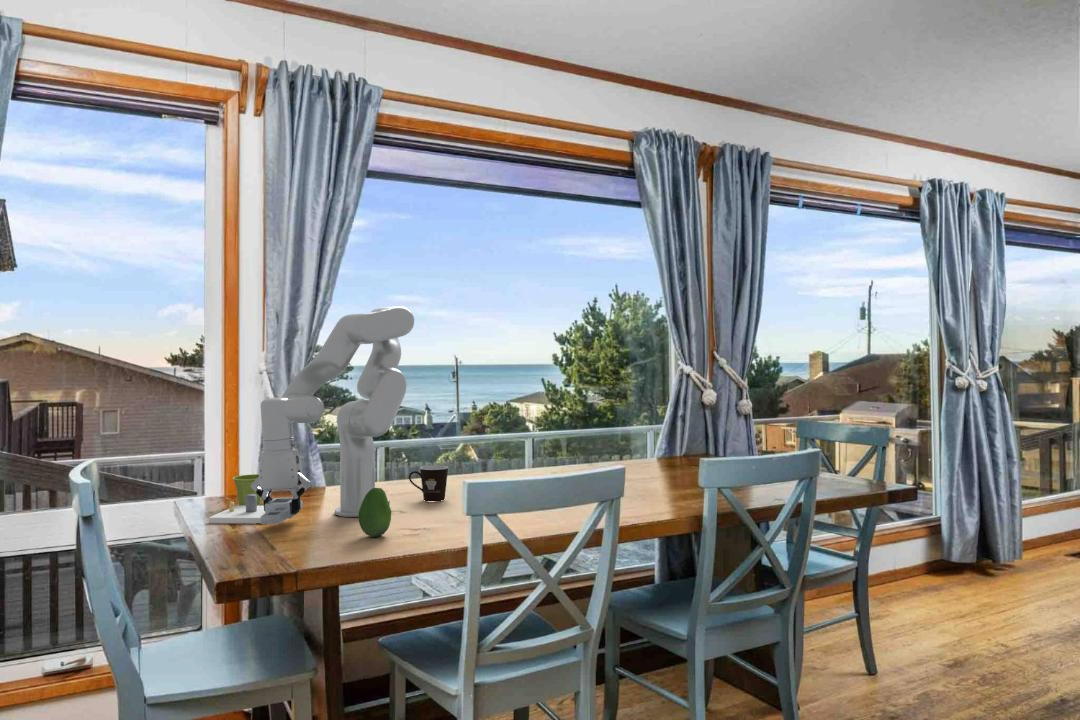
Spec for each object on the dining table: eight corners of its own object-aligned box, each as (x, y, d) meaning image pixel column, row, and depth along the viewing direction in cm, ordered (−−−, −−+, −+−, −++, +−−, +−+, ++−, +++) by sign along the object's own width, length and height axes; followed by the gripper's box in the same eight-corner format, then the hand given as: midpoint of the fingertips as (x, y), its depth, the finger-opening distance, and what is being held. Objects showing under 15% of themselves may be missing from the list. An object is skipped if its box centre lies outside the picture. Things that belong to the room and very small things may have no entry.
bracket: (282, 508, 199) (281, 493, 199) (305, 507, 199) (304, 492, 199) (257, 524, 183) (256, 508, 183) (283, 523, 183) (282, 507, 183)
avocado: (396, 533, 183) (396, 485, 183) (382, 541, 175) (382, 491, 175) (367, 531, 184) (367, 484, 184) (352, 539, 177) (352, 489, 177)
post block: (290, 510, 210) (290, 490, 210) (268, 523, 194) (268, 500, 194) (235, 510, 210) (235, 489, 210) (208, 523, 194) (208, 500, 194)
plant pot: (244, 510, 211) (244, 480, 211) (226, 506, 217) (226, 477, 217) (273, 505, 218) (273, 476, 218) (255, 501, 224) (255, 473, 224)
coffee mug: (453, 499, 227) (453, 467, 227) (435, 503, 220) (435, 470, 220) (425, 495, 233) (425, 464, 233) (406, 499, 226) (406, 467, 226)
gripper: (316, 441, 193) (320, 508, 194) (251, 444, 194) (256, 511, 195) (306, 446, 186) (310, 516, 187) (239, 449, 187) (243, 518, 187)
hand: (282, 512), depth 191 cm, fingers closed on bracket, 6 cm apart
